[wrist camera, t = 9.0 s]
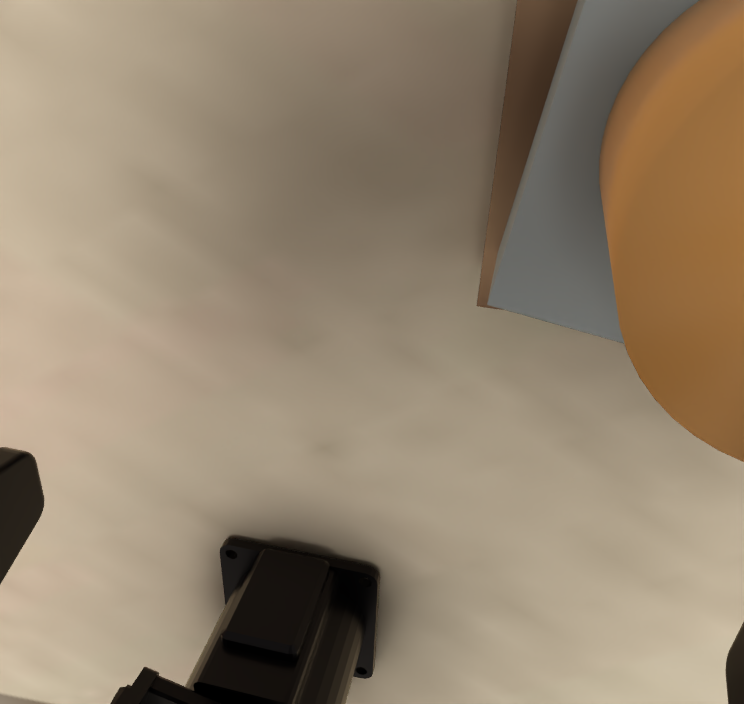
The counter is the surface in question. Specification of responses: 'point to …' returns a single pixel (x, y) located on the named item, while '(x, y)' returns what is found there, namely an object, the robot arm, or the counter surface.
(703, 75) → the orange cylinder
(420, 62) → the counter surface
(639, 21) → the block
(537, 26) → the tower base
